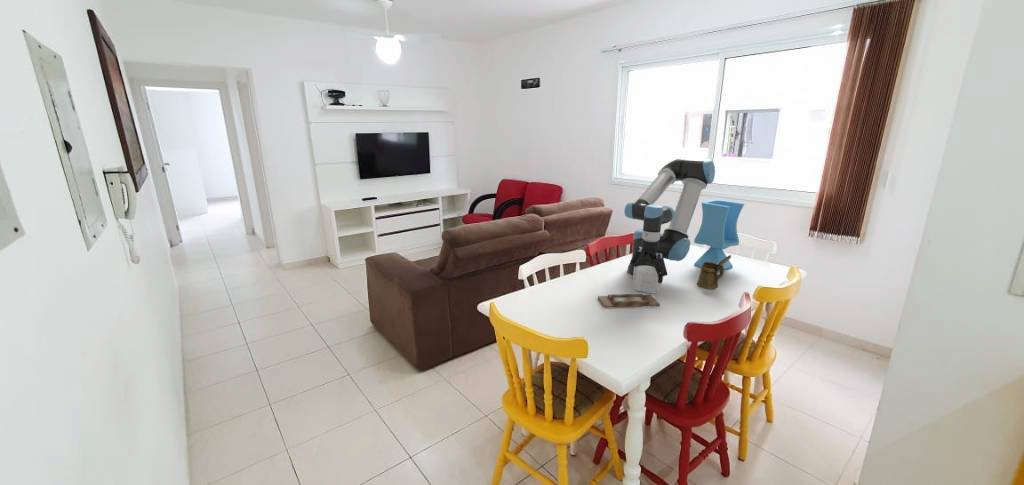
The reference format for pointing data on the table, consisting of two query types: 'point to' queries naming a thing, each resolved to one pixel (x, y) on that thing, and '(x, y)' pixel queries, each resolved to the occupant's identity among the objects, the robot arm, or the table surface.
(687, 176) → the robot arm
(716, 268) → the wooden mug
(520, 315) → the table surface
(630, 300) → the brown flat rectangular piece
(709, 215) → the planter
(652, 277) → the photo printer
